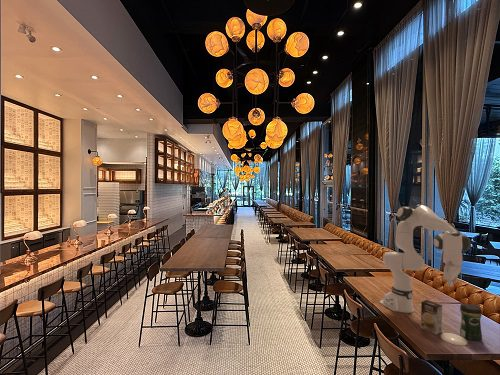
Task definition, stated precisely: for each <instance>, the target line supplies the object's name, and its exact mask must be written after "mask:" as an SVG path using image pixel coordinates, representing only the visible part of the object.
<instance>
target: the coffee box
mask: <svg viewBox="0 0 500 375" xmlns="http://www.w3.org/2000/svg"><path fill="white" fill-rule="evenodd" d="M420 312H421V313H420V314H421V315H420V316H421V317H420V329H422V330H425V331H427V332H429V333H431V334H434V335H438V334H442V328H443V326H442V325H443V321H442V320H443V304H439V303H437V302H434V301H431V300H429V299H425V300H423V301H421V311H420Z"/></svg>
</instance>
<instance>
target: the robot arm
mask: <svg viewBox="0 0 500 375" xmlns="http://www.w3.org/2000/svg"><path fill="white" fill-rule="evenodd" d="M396 218H397V219H398V220H400V221H399V222H398V224H397V226H396V231H395V243H394V244H395V246H396V247H397V248H398V249H400V250H401V251H403V252H398V251H397V252H396V251H387V252H384V254H383V256H382V261H383V264H384V265H385V266H386V267H387V268H388V269H389V270H390V272H391V274H392V277H393V286H390V287H389V288H390V289H391V291H389V292H387V293H385V294H384V296H383V299H381V300H379V304H380V305H382V306H384V307H386V308H388V309H390V310H391V311H393V312H400V313H404V314H405V313H406V314H407V313H410V314H411V313H414V312H415V308H414V305H413V287H412V284H413V283H412V282H413V280H412V277H411V276H410V275H409V274H407V273H405V271H403V270H406V271H407V270H409V271H421V270H423V269H424V268H425V259H424V257H422V256H421V255H420V254H419V253H418V252H417V250H416V249H415V247H414V230H415V229H416V230H419V229H422V228H424V229H426V230H430V231H437V232H442V233H441V234H436V235H435V236H434V237H433V238H432V240H433V241H432V242H433V243H432V244H433V246H434V248H436V249H437V250H438V251H442V252H443V253H442V262H443V263H444V264H445V265H444V268H443V280H446V283H447V287H449V288H452V286H453V283H454V284H455V283H457V282H458V281H457V279H458V276H459V274H461V272H462V265H463V262H464V258H463V254H462V252H463V253H465V252H467V251H468V250H469V249H470V248H471V246H472V242H471V239H470V238H469V236H467V235H466V234H465V233H462V232H461V231H459V230H458V229H456V227H455V226H454V225H452V224H451V223H450V222H448V221H447V220H445V219H443V218H441V217H440V216H438V215H437V214H436V213H435V212H434V211H433V210H432V209H431V208H430V207H428V206H427V205H424V204H423V205H419V206H417V207H416V208H415V209H414V208H412V207H411V206H410V207H409V206H401V207H399V208H398V209H397V211H396Z"/></svg>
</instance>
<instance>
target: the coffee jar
mask: <svg viewBox="0 0 500 375" xmlns="http://www.w3.org/2000/svg"><path fill="white" fill-rule="evenodd" d="M459 311H460V313H461V322H460V328H459V334H460V336H461V337H463V338H465V339H466V340H469V341H482V339H483V335H482V334H483V333H482V326H481V318H482V316H483V314H482V313H483V312H482V307H480V305H478V304H471V303H470V304H469V303H460V308H459Z"/></svg>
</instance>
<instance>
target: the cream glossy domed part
mask: <svg viewBox="0 0 500 375" xmlns="http://www.w3.org/2000/svg"><path fill="white" fill-rule="evenodd" d="M440 339H442V341H444V342H446V343H448V344H451V345H455V346H463V347H464V346H467V345H468V339H466V338H464V337H462V336H461V335H458V334H455V333H450V332H441V333H440Z"/></svg>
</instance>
